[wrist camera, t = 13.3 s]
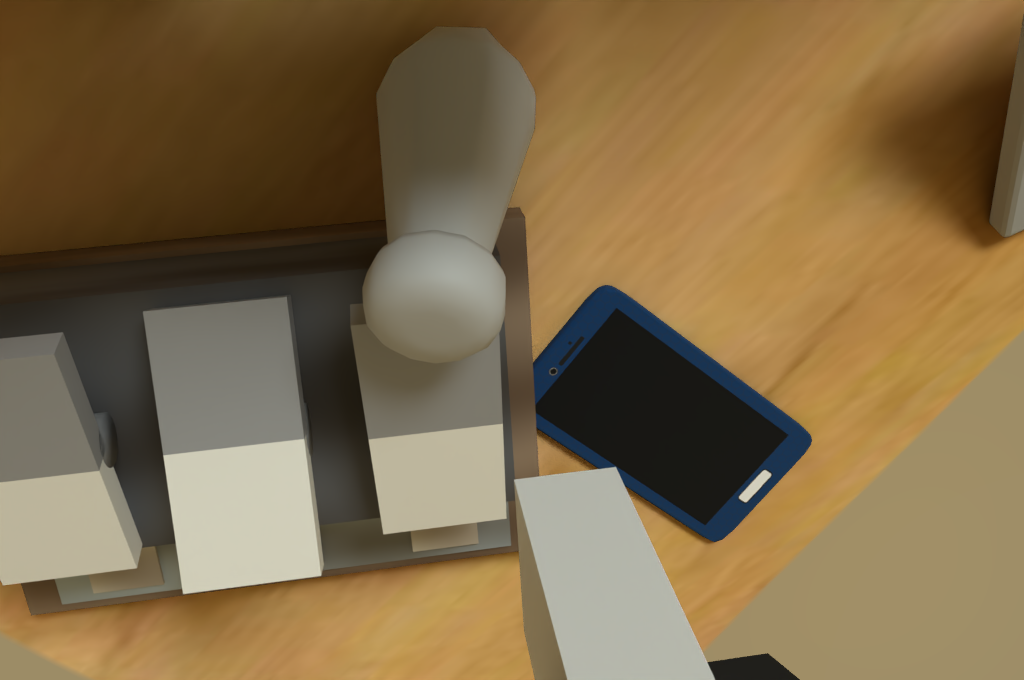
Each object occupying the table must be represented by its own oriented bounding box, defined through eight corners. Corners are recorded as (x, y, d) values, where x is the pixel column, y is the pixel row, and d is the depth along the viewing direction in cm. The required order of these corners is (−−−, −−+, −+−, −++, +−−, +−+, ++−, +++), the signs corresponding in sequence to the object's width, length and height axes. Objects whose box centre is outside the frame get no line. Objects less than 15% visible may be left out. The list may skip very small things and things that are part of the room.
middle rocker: (162, 306, 34) (142, 311, 32) (295, 292, 35) (286, 296, 32) (198, 568, 36) (183, 594, 33) (326, 551, 36) (321, 575, 34)
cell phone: (713, 539, 48) (718, 548, 47) (499, 399, 43) (501, 406, 42) (813, 432, 46) (820, 440, 45) (602, 274, 41) (606, 280, 41)
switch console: (-63, 262, 37) (-129, 310, 32) (519, 207, 39) (540, 244, 34) (42, 593, 43) (0, 676, 38) (537, 529, 46) (557, 599, 41)
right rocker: (349, 281, 32) (350, 325, 30) (488, 267, 33) (498, 310, 31) (380, 485, 38) (383, 534, 36) (497, 471, 39) (506, 518, 37)
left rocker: (-79, 323, 31) (-109, 371, 29) (72, 308, 32) (54, 354, 29) (22, 533, 37) (3, 585, 35) (148, 517, 37) (137, 568, 35)
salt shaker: (410, 142, 39) (367, 399, 30) (364, 18, 34) (298, 277, 26) (551, 120, 37) (546, 381, 29) (521, -11, 33) (505, 250, 25)
